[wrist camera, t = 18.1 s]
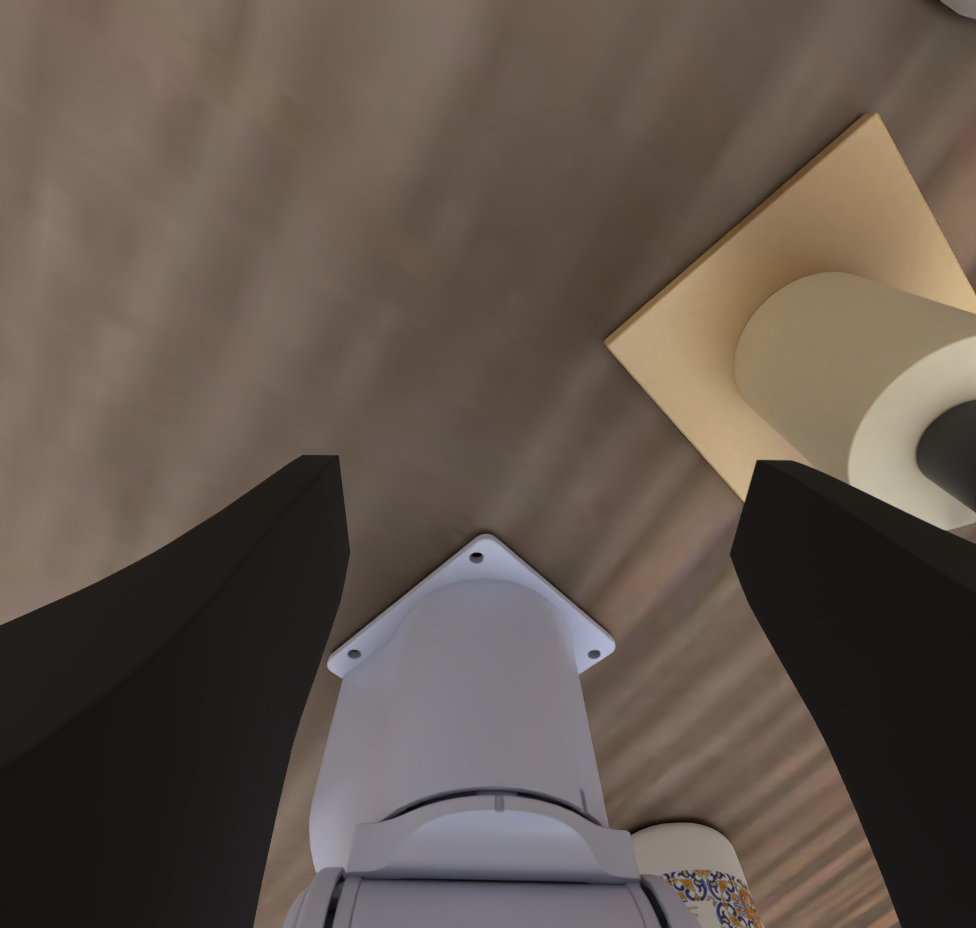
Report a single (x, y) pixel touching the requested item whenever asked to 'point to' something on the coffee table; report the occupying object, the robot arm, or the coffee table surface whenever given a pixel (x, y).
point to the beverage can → (962, 7)
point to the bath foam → (698, 872)
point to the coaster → (771, 266)
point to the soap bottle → (870, 389)
